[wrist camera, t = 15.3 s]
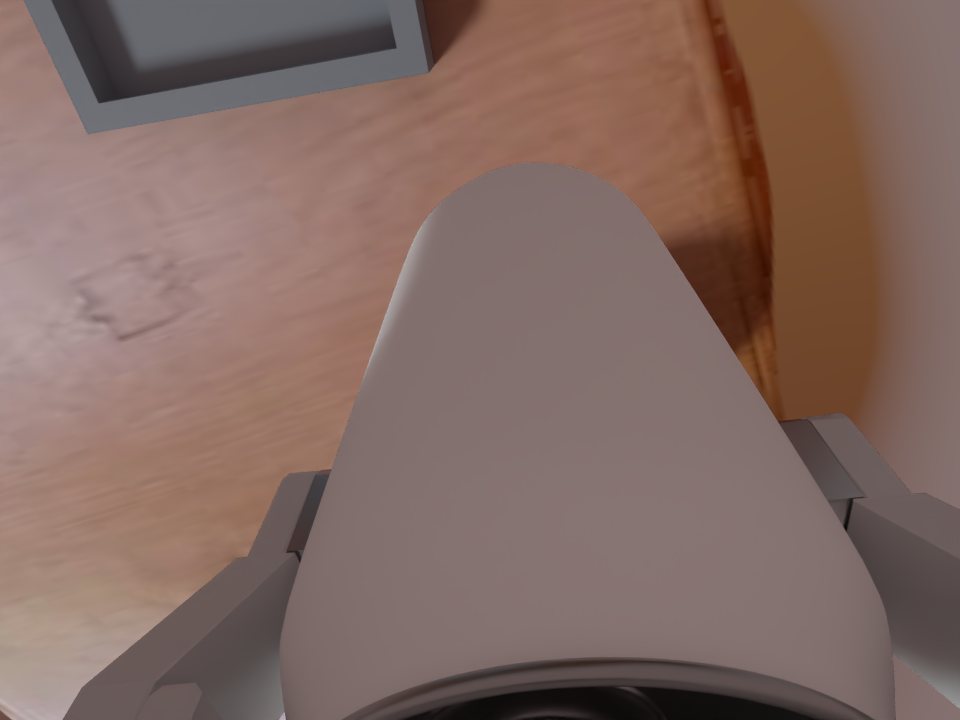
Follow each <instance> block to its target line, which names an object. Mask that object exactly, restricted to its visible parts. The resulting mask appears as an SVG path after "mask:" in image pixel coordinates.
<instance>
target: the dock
mask: <svg viewBox="0 0 960 720" xmlns="http://www.w3.org/2000/svg"><path fill="white" fill-rule="evenodd" d="M24 2H25V4H26V6H27V8H28V10H29V13H30V15H31V17H32V19H33V21H34V23H35V25H36V27H37V29H38V31H39V33H40V36H41V38H42V40H43V42H44V44H45V46H46V48H47V50H48V52H49V54H50V56H51V58H52V61H53V63H54V65H55V67H56V69H57V71H58V73H59V75H60V77H61V79H62V81H63V84H64V86H65V88H66V90H67V92H68V94H69V96H70V98H71V100H72V102H73V104H74V106H75V109H76V111H77V113H78V115H79V117H80V119H81V121H82V123H83V125H84V127H85V129H86V132H87V134H92V133H97V132H103V131H108V130H114V129H120V128H125V127H131V126H136V125H142V124H147V123H153V122H159V121H164V120H170V119H175V118H181V117H186V116H192V115H197V114H203V113H209V112H214V111H220V110H225V109H231V108H236V107H242V106H248V105H253V104H259V103H264V102H270V101H275V100H281V99H286V98H292V97H298V96H303V95H309V94H314V93H320V92H325V91H331V90H337V89H342V88H348V87H353V86H359V85H364V84H370V83H375V82H381V81H387V80H392V79H398V78H403V77H409V76H414V75H420V74H426V73H429V72H430V71H431V69H432V68H433V67H434V60H433V55H432V49H431V44H430V38H429V33H428V27H427V22H426V17H425V11H424V6H423V0H24Z"/></svg>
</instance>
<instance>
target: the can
mask: <svg viewBox="0 0 960 720" xmlns="http://www.w3.org/2000/svg"><path fill="white" fill-rule="evenodd" d="M279 660H280V679H281V688H282V696H283V703H284V709H285V716H286V720H896V717H895V688H894V665H893V654H892V644H891V636H890V631H889V626H888V621H887V616H886V612H885V609H884V605H883V602H882V600H881V597H880V595H879V593H878V591H877V589H876V586H875V584H874V582H873V580H872V578H871V576H870V574H869V572H868V570H867V568H866V566H865V564H864V562H863V560H862V558H861V556H860V555H859V553H858V551H857V550H856V548H855V546H854V544H853V543H852V541H851V539H850V538H849V536H848V534H847V533H846V531H845V529H844V527H843V526H842V524H841V522H840V521H839V519H838V517H837V516H836V514H835V512H834V511H833V509H832V507H831V506H830V504H829V503H828V501H827V499H826V498H825V496H824V495H823V493H822V491H821V490H820V488H819V487H818V485H817V483H816V482H815V480H814V478H813V477H812V475H811V474H810V472H809V470H808V469H807V467H806V466H805V464H804V462H803V461H802V459H801V458H800V456H799V454H798V453H797V451H796V450H795V448H794V446H793V445H792V443H791V442H790V440H789V438H788V437H787V435H786V434H785V432H784V431H783V429H782V427H781V426H780V424H779V423H778V421H777V420H776V418H775V416H774V415H773V413H772V412H771V410H770V408H769V407H768V405H767V404H766V402H765V401H764V399H763V397H762V396H761V394H760V393H759V391H758V390H757V388H756V386H755V385H754V383H753V382H752V380H751V378H750V377H749V375H748V374H747V372H746V371H745V369H744V368H743V366H742V364H741V363H740V361H739V360H738V358H737V357H736V355H735V353H734V352H733V350H732V349H731V347H730V346H729V344H728V342H727V341H726V339H725V338H724V336H723V335H722V333H721V332H720V330H719V328H718V327H717V325H716V324H715V322H714V321H713V319H712V317H711V316H710V314H709V313H708V311H707V310H706V308H705V307H704V305H703V303H702V302H701V300H700V299H699V297H698V296H697V294H696V293H695V291H694V289H693V288H692V286H691V285H690V283H689V282H688V280H687V279H686V277H685V275H684V274H683V272H682V271H681V269H680V268H679V266H678V265H677V263H676V262H675V260H674V259H673V257H672V255H671V254H670V252H669V251H668V249H667V248H666V246H665V245H664V243H663V242H662V240H661V239H660V237H659V236H658V234H657V233H656V231H655V230H654V228H653V227H652V225H651V224H650V223H649V221H648V220H647V218H646V217H645V216H644V214H643V213H642V212H641V211H640V209H639V208H638V207H637V206H636V205H635V204H634V203H633V202H632V201H631V200H630V199H629V198H628V197H627V196H626V195H625V194H624V193H622V192H621V191H620V190H619V189H617V188H616V187H615V186H613V185H612V184H610V183H609V182H607V181H605V180H603V179H602V178H600V177H598V176H595V175H593V174H591V173H588V172H586V171H583V170H580V169H577V168H573V167H569V166H564V165H559V164H551V163H539V162H526V163H517V164H512V165H508V166H504V167H501V168H498V169H495V170H492V171H490V172H487V173H485V174H483V175H481V176H479V177H477V178H475V179H473V180H471V181H470V182H468V183H466V184H465V185H463V186H461V187H460V188H458V189H457V190H456V191H454V192H453V193H451V194H450V195H449V196H447V197H446V198H445V199H444V200H443V201H442V202H441V203H439V204H438V205H437V206H436V207H435V209H434V210H433V211H432V212H431V213H430V214H429V216H428V217H427V218H426V220H425V221H424V223H423V224H422V226H421V227H420V229H419V231H418V233H417V234H416V236H415V238H414V240H413V243H412V245H411V247H410V250H409V252H408V254H407V257H406V260H405V262H404V265H403V268H402V270H401V273H400V276H399V279H398V281H397V284H396V287H395V290H394V293H393V295H392V298H391V301H390V304H389V306H388V309H387V312H386V315H385V318H384V321H383V323H382V326H381V329H380V332H379V335H378V338H377V340H376V343H375V346H374V349H373V352H372V354H371V357H370V360H369V363H368V366H367V369H366V372H365V375H364V377H363V380H362V383H361V386H360V389H359V392H358V395H357V397H356V400H355V403H354V406H353V409H352V412H351V415H350V417H349V420H348V423H347V426H346V429H345V432H344V435H343V438H342V441H341V443H340V446H339V449H338V452H337V455H336V458H335V461H334V464H333V467H332V469H331V472H330V475H329V478H328V481H327V484H326V487H325V490H324V493H323V496H322V499H321V502H320V505H319V508H318V510H317V513H316V516H315V519H314V522H313V525H312V528H311V531H310V534H309V537H308V540H307V543H306V546H305V549H304V552H303V555H302V558H301V562H300V565H299V568H298V571H297V575H296V578H295V581H294V584H293V588H292V591H291V594H290V597H289V601H288V605H287V609H286V614H285V618H284V623H283V628H282V632H281V638H280V649H279Z"/></svg>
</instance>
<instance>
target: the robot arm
mask: <svg viewBox="0 0 960 720" xmlns="http://www.w3.org/2000/svg"><path fill="white" fill-rule="evenodd" d="M778 423H779V424H780V426H781V427H782V429H783V431H784V432H785V434H786V435H787V437H788V438H789V440H790V442H791V443H792V445H793V446H794V448H795V450H796V451H797V453H798V454H799V456H800V458H801V459H802V461H803V462H804V464H805V466H806V467H807V469H808V470H809V472H810V474H811V475H812V477H813V478H814V480H815V482H816V483H817V485H818V487H819V488H820V490H821V491H822V493H823V495H824V496H825V498H826V499H827V501H828V503H829V504H830V506H831V507H832V509H833V511H834V512H835V514H836V516H837V517H838V519H839V521H840V522H841V524H842V526H843V527H844V529H845V531H846V533H847V534H848V536H849V538H850V539H851V541H852V543H853V544H854V546H855V548H856V550H857V551H858V553H859V555H860V556H861V558H862V560H863V562H864V564H865V566H866V568H867V570H868V572H869V574H870V576H871V578H872V580H873V582H874V584H875V586H876V589H877V591H878V593H879V595H880V597H881V600H882V602H883V605H884V609H885V612H886V616H887V621H888V626H889V631H890V636H891V644H892V654H894V655H895V656H896V657H897V658H898V659H900V660H901V661H902V662H903V663H904V664H906V665H907V666H908V667H910V668H911V669H912V670H913V671H914V672H916V673H917V674H918V675H919V676H920V677H922V678H923V679H924V680H925V681H926V682H928V683H929V684H930V685H931V686H933V687H934V688H935V689H936V690H937V691H939V692H940V693H941V694H943V696H945V697H946V698H947V699H949V700H950V701H951V702H952V703H953V704H954V705H956V706H957V707H958V708H959V709H960V509H958V508H956V507H954V506H951V505H949V504H947V503H945V502H943V501H941V500H939V499H937V498H935V497H932V496H930V495H928V494H926V493H917V494H912V493H911V492H910V491H909V489H908V488H907V487H906V486H905V485H904V484H903V482H902V481H901V480H900V479H899V477H898V476H897V475H896V474H895V473H894V472H893V470H892V469H891V468H890V466H889V465H888V464H887V463H886V462H885V460H884V459H883V458H882V457H881V456H880V454H879V453H878V452H877V451H876V450H875V449H874V447H873V446H872V445H871V444H870V442H869V441H868V440H867V439H866V438H865V436H864V435H863V434H862V433H861V432H860V431H859V429H858V428H857V427H856V426H855V424H854V423H853V422H852V421H851V420H850V418H849V417H848V416H846V415H844V414H842V413H835V414H828V415H820V416H812V417H805V418H802V419H796V420H787V421H778ZM330 472H331V469H328V470H321V471H310V472H299V473H290V474H288V475H287V476H286V477H284V478H283V480H282V481H281V483H280V486H279V488H278V490H277V492H276V494H275V497H274V499H273V501H272V503H271V506H270V508H269V510H268V512H267V514H266V517H265V519H264V521H263V523H262V526H261V528H260V530H259V532H258V534H257V537H256V539H255V541H254V543H253V546H252V548H251V550H250V552H249V554H248V557H241V558H237V559H236V560H234V561H233V562H232V563H231V564H230V565H228V566H227V567H226V568H225V569H224V570H222V571H221V572H220V573H219V574H218V575H216V576H215V577H214V578H213V579H212V580H210V581H209V582H208V583H207V584H206V585H204V586H203V587H202V588H201V589H200V590H198V591H197V592H196V593H195V594H194V595H192V596H191V597H190V598H189V599H188V600H186V601H185V602H184V603H183V604H182V605H180V606H179V607H178V608H177V609H176V610H174V611H173V612H172V613H171V614H170V615H168V616H167V617H166V618H165V619H164V620H162V621H161V622H160V623H159V624H158V625H156V626H155V627H154V628H153V629H152V630H150V631H149V632H148V633H147V634H146V635H144V636H143V637H142V638H141V639H140V640H138V641H137V642H136V643H135V644H134V645H132V646H131V647H130V648H129V649H128V650H126V651H125V652H124V653H123V654H122V655H120V656H119V657H118V658H117V659H116V660H114V661H113V662H112V663H111V664H110V665H108V666H107V667H106V668H105V669H104V670H102V671H101V672H100V673H99V674H98V675H96V676H95V677H94V678H93V679H92V680H90V681H89V682H88V683H87V684H86V685H84V686H83V687H82V688H81V690H80V692H79V693H78V695H77V697H76V698H75V700H74V702H73V703H72V705H71V707H70V708H69V710H68V712H67V713H66V715H65V717H64V718H63V720H278V719H279V718H280V717H281V716H282V714H283V713H284V712H285V709H284V703H283V696H282V688H281V679H280V660H279V649H280V638H281V632H282V628H283V623H284V618H285V614H286V609H287V605H288V601H289V597H290V594H291V591H292V588H293V584H294V581H295V578H296V575H297V571H298V568H299V565H300V562H301V558H302V555H303V552H304V549H305V546H306V543H307V540H308V537H309V534H310V531H311V528H312V525H313V522H314V519H315V516H316V513H317V510H318V508H319V505H320V502H321V499H322V496H323V493H324V490H325V487H326V484H327V481H328V478H329V475H330Z"/></svg>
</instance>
